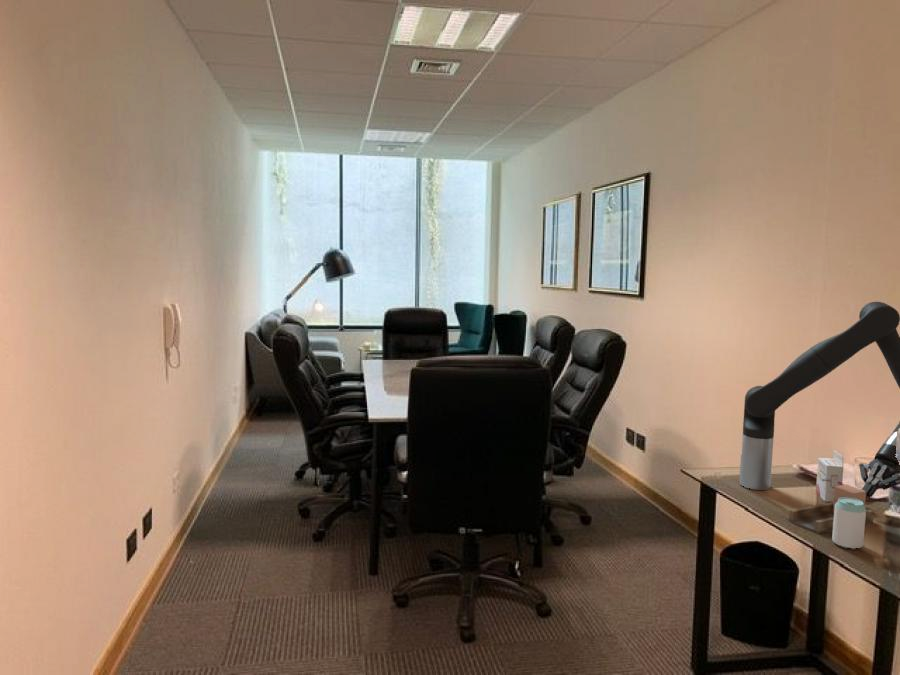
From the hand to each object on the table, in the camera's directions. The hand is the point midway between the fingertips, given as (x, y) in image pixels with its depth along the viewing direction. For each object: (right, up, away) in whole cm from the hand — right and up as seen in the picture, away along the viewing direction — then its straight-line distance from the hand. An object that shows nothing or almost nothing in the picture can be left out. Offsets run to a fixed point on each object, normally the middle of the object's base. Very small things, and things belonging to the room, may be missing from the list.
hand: (864, 495), depth 193 cm
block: (-6, -6, -2) cm, 9 cm away
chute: (-13, -6, -4) cm, 15 cm away
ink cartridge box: (-2, -4, +15) cm, 16 cm away
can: (-17, -8, -19) cm, 27 cm away
